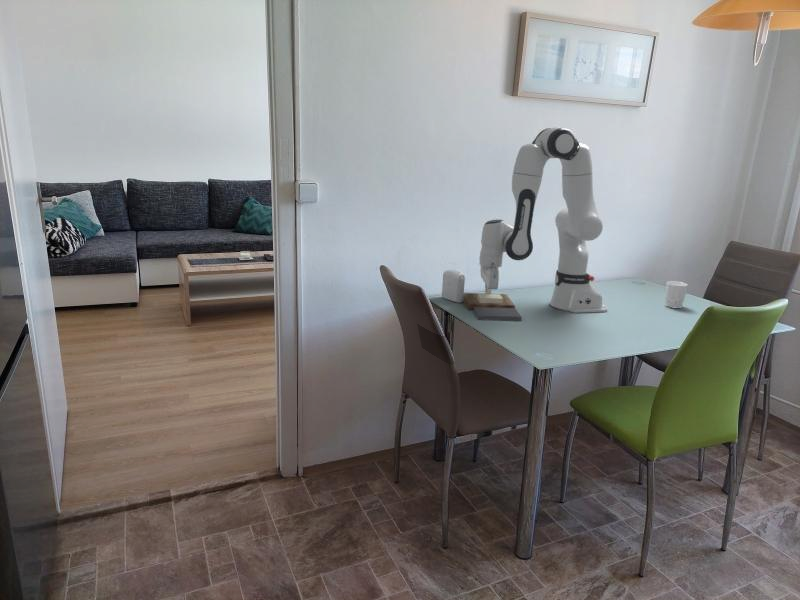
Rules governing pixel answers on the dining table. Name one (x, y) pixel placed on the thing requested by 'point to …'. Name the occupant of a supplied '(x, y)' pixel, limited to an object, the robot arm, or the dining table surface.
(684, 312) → the dining table surface
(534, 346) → the dining table surface
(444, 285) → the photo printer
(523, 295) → the dining table surface
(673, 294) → the white cup
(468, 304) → the walnut deck
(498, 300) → the cream card
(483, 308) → the charcoal mat
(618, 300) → the dining table surface
